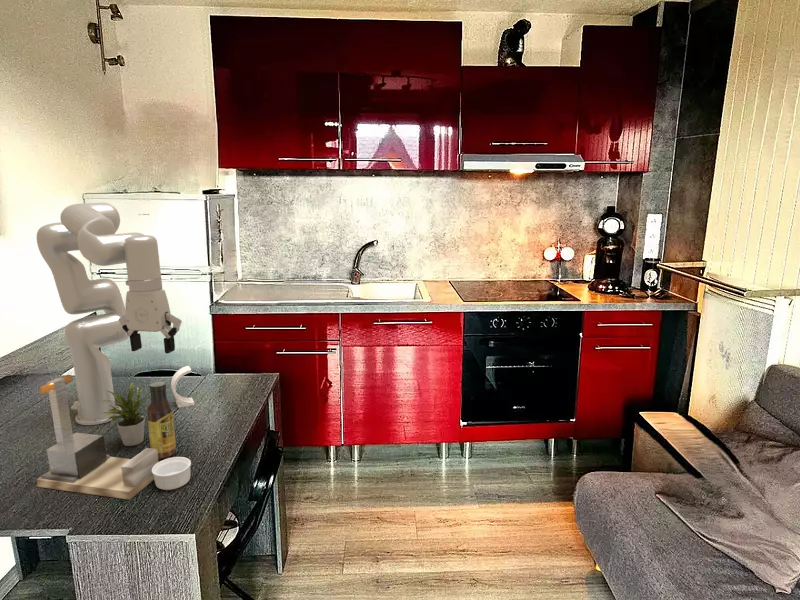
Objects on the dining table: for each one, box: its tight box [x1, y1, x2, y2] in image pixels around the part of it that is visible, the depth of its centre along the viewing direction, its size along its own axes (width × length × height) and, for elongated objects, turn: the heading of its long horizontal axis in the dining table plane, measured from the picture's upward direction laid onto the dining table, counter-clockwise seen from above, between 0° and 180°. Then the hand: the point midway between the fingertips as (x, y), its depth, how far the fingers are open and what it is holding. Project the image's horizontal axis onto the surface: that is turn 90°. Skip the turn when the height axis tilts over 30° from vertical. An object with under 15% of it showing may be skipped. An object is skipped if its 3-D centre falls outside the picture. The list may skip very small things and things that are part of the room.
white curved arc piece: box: [170, 365, 196, 409], centre depth 177 cm, size 5×6×12 cm
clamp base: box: [36, 447, 160, 500], centre depth 135 cm, size 26×13×7 cm, turn 78°
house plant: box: [100, 381, 151, 447], centre depth 153 cm, size 14×14×16 cm
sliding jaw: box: [38, 374, 108, 479], centre depth 134 cm, size 8×9×23 cm
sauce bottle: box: [147, 381, 177, 460], centre depth 145 cm, size 7×6×20 cm
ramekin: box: [152, 456, 192, 491], centre depth 134 cm, size 9×9×4 cm
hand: (153, 350), depth 140 cm, fingers open, 9 cm apart
